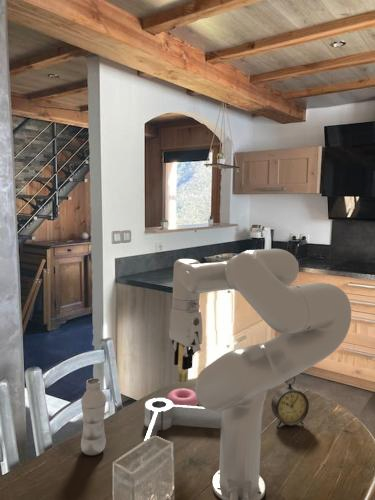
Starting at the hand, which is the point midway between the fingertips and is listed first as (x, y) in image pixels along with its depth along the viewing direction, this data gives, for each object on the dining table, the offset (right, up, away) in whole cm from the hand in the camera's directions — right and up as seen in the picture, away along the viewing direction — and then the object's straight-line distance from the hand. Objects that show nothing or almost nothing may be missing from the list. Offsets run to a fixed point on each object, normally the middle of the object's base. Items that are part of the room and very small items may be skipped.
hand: (183, 365), depth 117 cm
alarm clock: (+33, -22, +11) cm, 41 cm away
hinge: (-1, -22, +2) cm, 22 cm away
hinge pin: (0, -4, +1) cm, 4 cm away
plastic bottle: (-24, -22, -5) cm, 33 cm away
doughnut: (0, -20, +23) cm, 30 cm away
